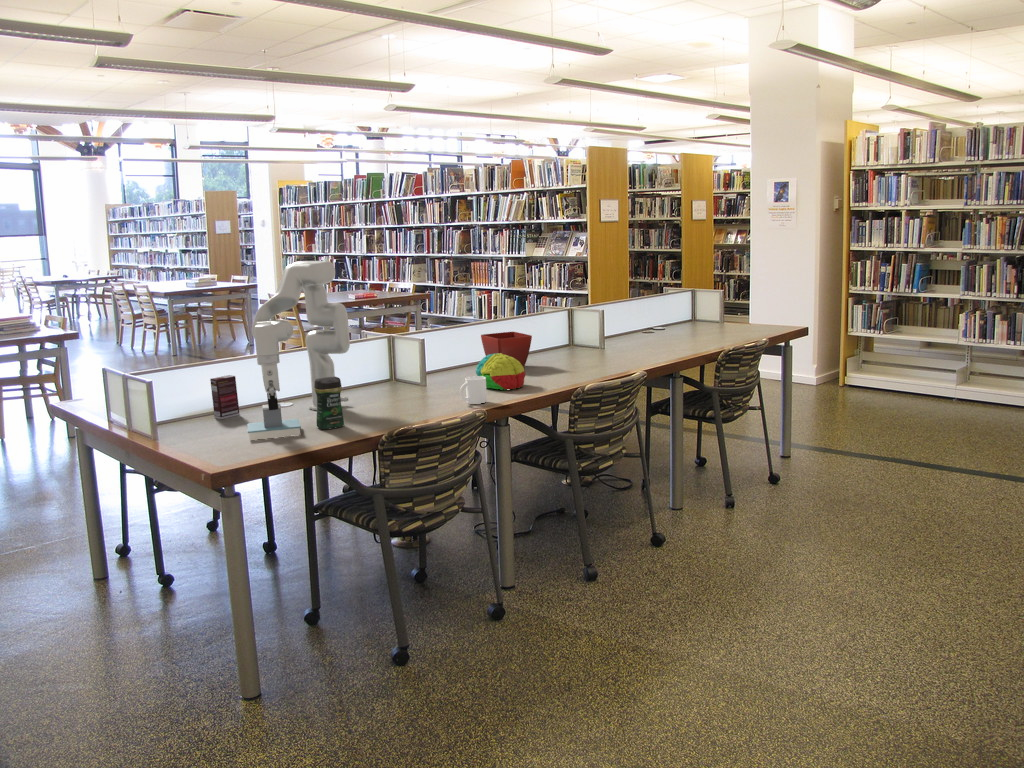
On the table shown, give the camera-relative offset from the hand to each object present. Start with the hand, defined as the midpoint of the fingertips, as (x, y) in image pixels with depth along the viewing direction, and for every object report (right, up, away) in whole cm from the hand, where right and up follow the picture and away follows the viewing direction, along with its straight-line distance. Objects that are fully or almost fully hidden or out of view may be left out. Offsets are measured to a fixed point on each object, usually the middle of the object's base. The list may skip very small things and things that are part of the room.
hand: (273, 406), depth 297 cm
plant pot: (+82, +15, +118) cm, 145 cm away
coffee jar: (+18, -8, +10) cm, 22 cm away
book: (0, -11, +3) cm, 11 cm away
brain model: (+80, +6, +74) cm, 109 cm away
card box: (0, -7, +1) cm, 7 cm away
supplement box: (-27, -5, +33) cm, 43 cm away
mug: (+69, 0, +42) cm, 81 cm away
